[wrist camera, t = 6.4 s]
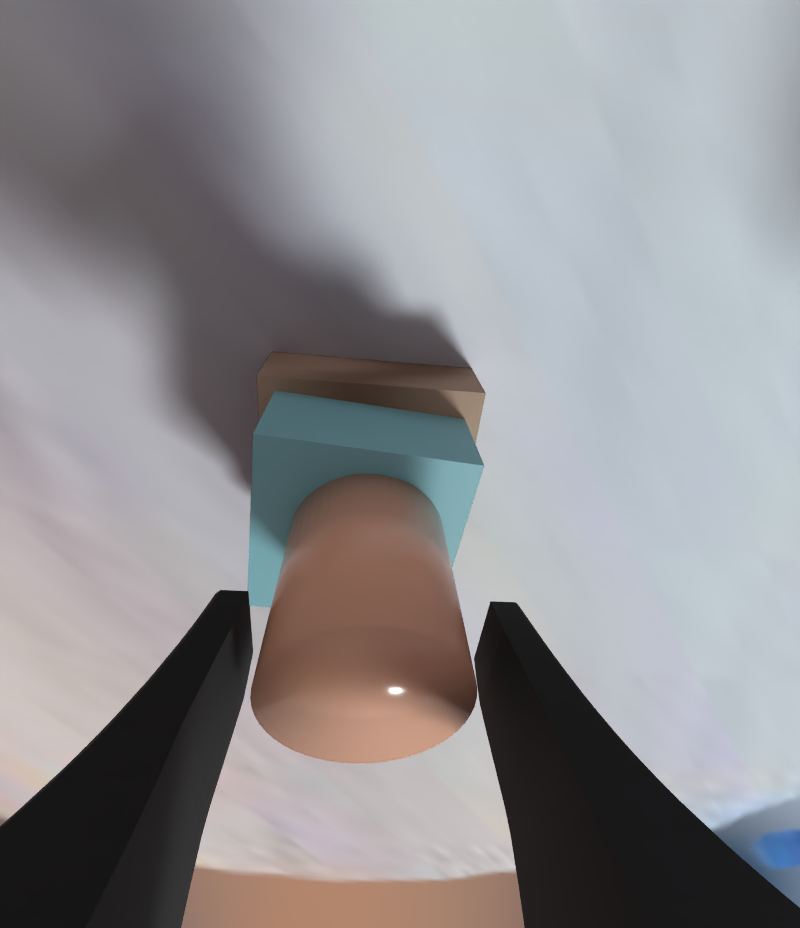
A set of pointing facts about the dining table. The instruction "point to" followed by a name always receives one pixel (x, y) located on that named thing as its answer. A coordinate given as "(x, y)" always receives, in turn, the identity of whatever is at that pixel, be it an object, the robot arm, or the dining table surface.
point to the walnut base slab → (375, 384)
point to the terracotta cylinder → (364, 628)
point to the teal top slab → (350, 468)
